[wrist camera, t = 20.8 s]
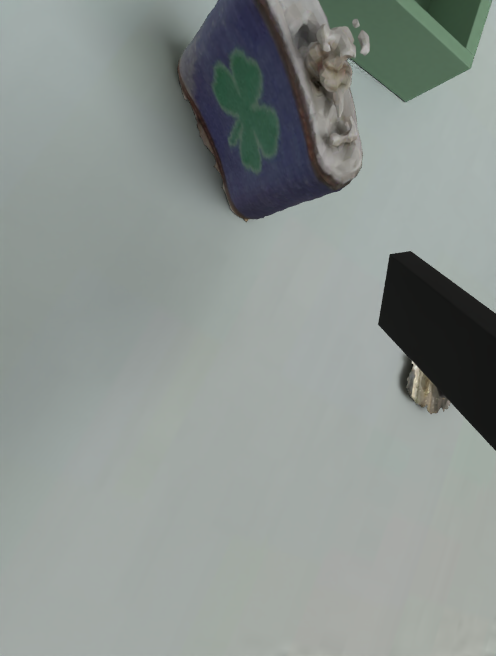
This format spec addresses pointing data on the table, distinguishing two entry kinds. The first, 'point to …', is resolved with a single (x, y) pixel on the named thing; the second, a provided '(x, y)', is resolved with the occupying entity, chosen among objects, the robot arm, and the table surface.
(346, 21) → the open box
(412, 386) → the geode half
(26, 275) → the table surface
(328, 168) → the flask
